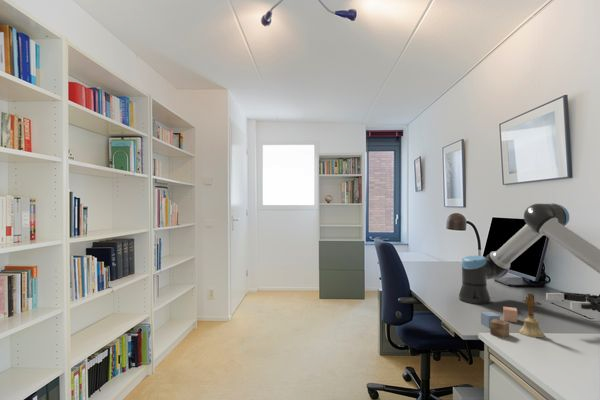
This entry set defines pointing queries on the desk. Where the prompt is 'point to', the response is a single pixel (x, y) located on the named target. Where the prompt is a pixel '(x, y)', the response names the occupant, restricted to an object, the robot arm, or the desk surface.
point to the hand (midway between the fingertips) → (558, 300)
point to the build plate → (526, 299)
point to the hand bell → (531, 321)
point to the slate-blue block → (488, 318)
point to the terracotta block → (510, 314)
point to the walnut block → (499, 328)
